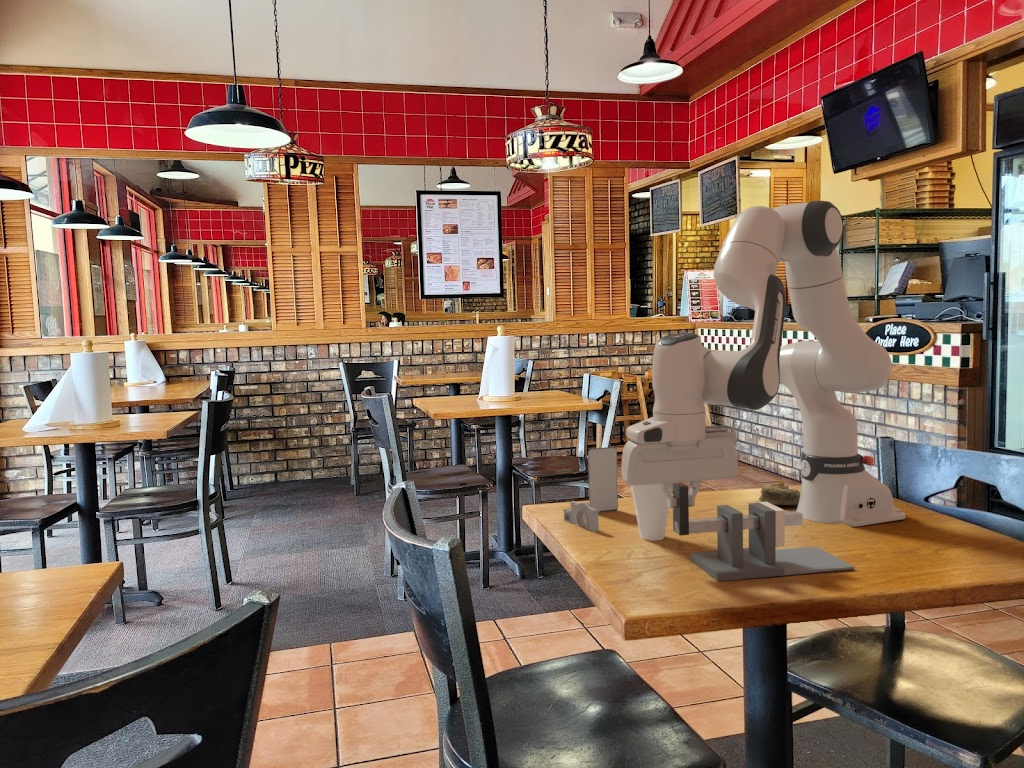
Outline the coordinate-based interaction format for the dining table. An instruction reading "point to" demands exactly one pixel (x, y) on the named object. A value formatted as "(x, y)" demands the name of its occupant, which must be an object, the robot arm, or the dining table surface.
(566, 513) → the grey toothed piece
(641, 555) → the dining table surface
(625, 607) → the dining table surface
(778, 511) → the block
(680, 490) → the shaft
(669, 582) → the dining table surface
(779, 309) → the robot arm
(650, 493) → the cup
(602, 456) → the smartphone
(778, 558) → the mat
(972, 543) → the dining table surface
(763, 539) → the bearing stand
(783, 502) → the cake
